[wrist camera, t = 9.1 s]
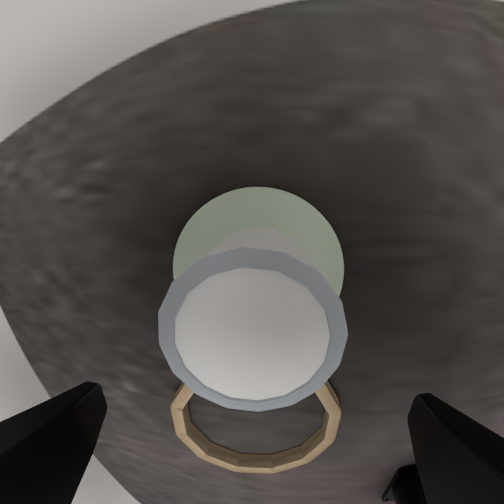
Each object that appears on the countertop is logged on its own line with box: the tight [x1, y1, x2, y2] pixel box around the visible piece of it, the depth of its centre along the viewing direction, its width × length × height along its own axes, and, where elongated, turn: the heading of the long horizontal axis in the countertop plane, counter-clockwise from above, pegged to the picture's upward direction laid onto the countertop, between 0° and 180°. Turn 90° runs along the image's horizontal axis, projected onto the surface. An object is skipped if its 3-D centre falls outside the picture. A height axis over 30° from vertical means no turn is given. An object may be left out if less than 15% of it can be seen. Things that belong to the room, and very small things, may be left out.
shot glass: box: [158, 227, 348, 412], centre depth 14 cm, size 7×7×7 cm
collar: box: [171, 381, 341, 473], centre depth 20 cm, size 12×12×2 cm
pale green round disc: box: [173, 186, 344, 297], centre depth 18 cm, size 10×10×1 cm
